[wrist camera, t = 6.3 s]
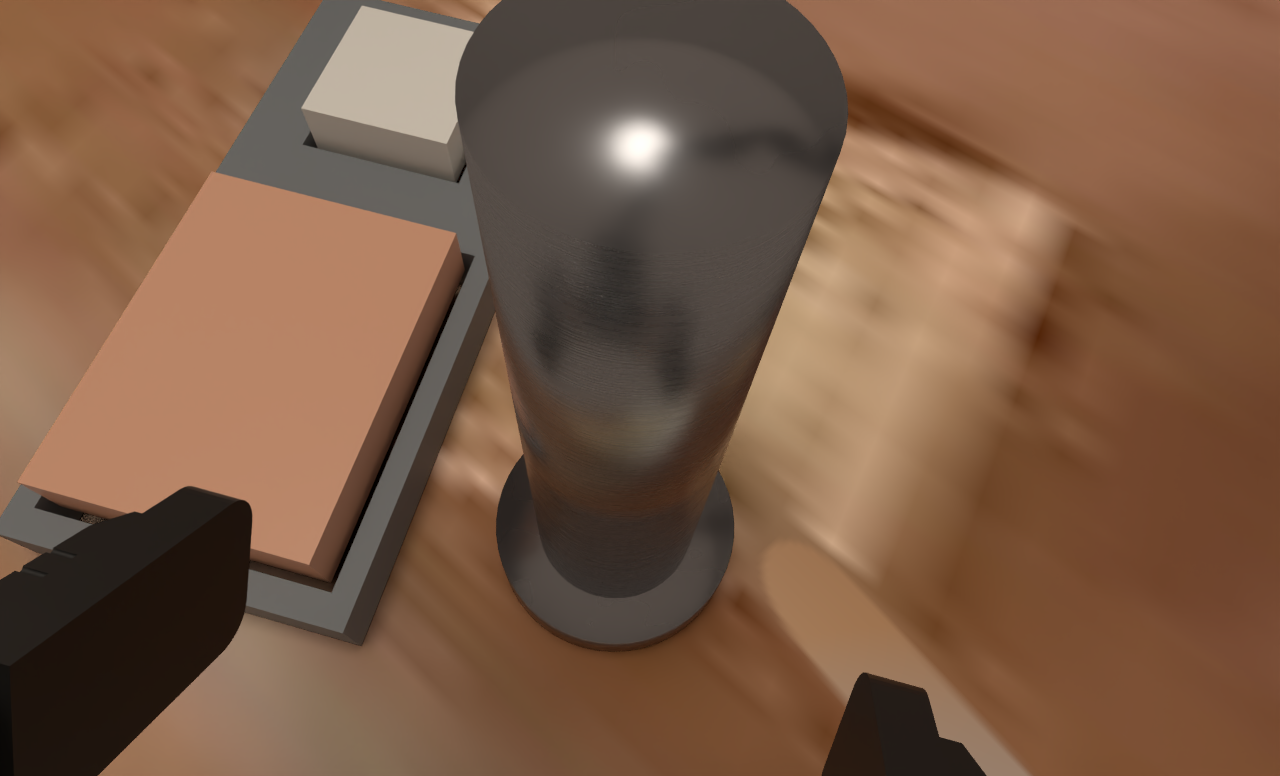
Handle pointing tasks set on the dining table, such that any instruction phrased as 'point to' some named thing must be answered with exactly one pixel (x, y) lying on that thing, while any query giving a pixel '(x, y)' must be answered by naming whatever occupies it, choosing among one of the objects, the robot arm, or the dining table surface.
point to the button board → (293, 162)
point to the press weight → (637, 279)
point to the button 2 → (392, 95)
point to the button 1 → (258, 369)
